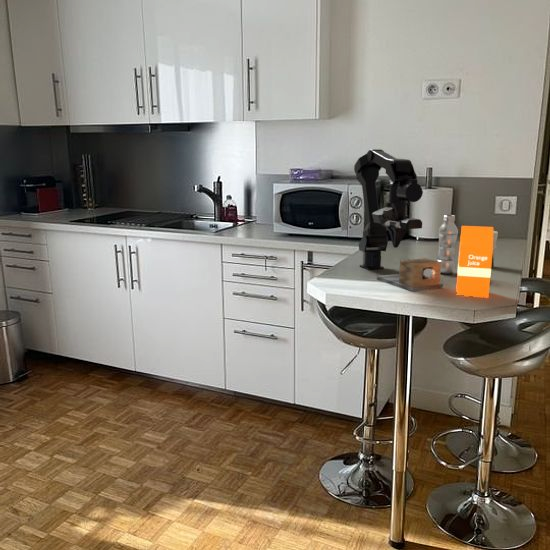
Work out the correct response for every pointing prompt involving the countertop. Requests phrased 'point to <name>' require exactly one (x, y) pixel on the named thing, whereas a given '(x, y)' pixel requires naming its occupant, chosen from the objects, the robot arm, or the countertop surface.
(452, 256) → the plastic bottle
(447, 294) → the countertop surface
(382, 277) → the bearing block
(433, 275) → the shaft
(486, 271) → the orange juice
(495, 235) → the character mug
